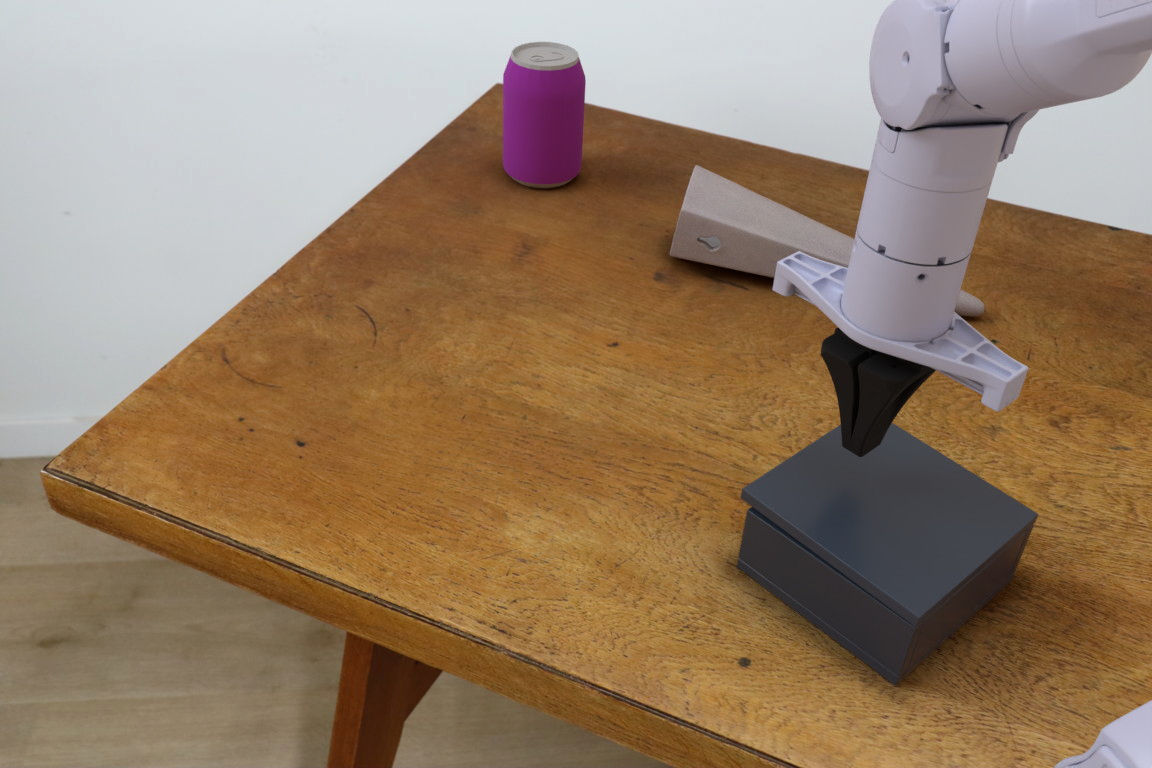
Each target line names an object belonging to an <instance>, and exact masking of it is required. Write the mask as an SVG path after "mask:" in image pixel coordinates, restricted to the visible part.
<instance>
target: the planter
mask: <svg viewBox="0 0 1152 768" xmlns="http://www.w3.org/2000/svg"><path fill="white" fill-rule="evenodd" d="M854 239H855V238H853V237H851V236H849V235H846V234H845V233H843V232H841V231H838V230H836V229H834V228H832V227H829V226H827V225H825V224H823V223H821V222H819V221H817V220H815V219H813V218H811V217H809V216H806V215H805V214H802V213H801V212H797V211H796V210H794V209H791V208H789V207H787V206H785V205H783V204H780V203H779V202H776V201H775V200H772V199H770V198H768V197H766V196H763V195H761V194H759V193H758V192H755V191H752V190H750V189H749V188H747V187H744V186H742V185H741V184H739V183H737V182H735V181H732V180H730V179H728V178H726V177H724V176H721V175H720V174H717V173H715V172H712V171H711V170H708V169H706V168H704V167H703V166H700V165H699V164H698V165H697V164H696V165H695V166H694V168H693V170H692V173H691V175H690V179H689V182H688V185H687V188H686V190H685V195H684V198H683V202H682V205H681V209H680V211H679V215H678V219H677V222H676V226H675V230H674V233H673V238H672V242H671V245H670V246H671V247H670V251H669V256H670V257H673V258H676V259H681V260H682V259H683V260H686V261H691V262H696V263H701V264H705V265H712V266H716V267H721V268H725V269H730V270H734V271H740V272H744V273H749V274H753V275H759V276H764V277H768V278H773V279H774V278H775V272H776V266H777V262H778V261H780V260H782V259H784V258H786V257H788V256H790V255H792V254H794V253H796V252H798V251H800V252H802V253H804V254H807V255H809V256H811V257H814V258H816V259H819V260H822V261H825V262H828V263H832V264H835V265H839V266H843V267H846V268H848V266H849V262H850V257H851V253H852V248H853V243H854ZM985 309H986V307H985V303H984V302H983V301H982V300H981V299H979V298H978V297H976V296H974V295H973V294H971V293H969V292H967V291H965V290H963V289H961V290H960V293H959V296H958V300H957V303H956V307H955V310H954V312H955V313H957V314H958V315H959V316H960V317H973V318H976V317H980V316H982V315H983V314H984V313H985Z"/></svg>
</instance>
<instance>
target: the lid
mask: <svg viewBox="0 0 1152 768" xmlns="http://www.w3.org/2000/svg"><path fill="white" fill-rule="evenodd" d="M740 499H741V500H742V501H744V502H745V503H746V504H747V505H750V507H753V508H755V509H756V510H757V511H759V512H760V513H761V514H763V515H764V516H765V517H767V518H768V519H770V520H771V521H772V522H774V523H775V524H776V525H778V526H779V527H780V528H782V529H783V530H784V531H786V532H787V533H789V534H790V535H791V536H793V537H794V538H795V539H797V540H798V541H799V542H801V543H802V544H803V545H805V546H806V547H808V548H809V549H810V550H812V551H813V552H814V553H816V554H817V555H818V556H820V557H821V558H822V559H824V560H825V561H827V562H828V563H829V564H831V565H832V566H833V567H835V568H836V569H837V570H839V571H840V572H841V573H843V574H844V575H845V576H847V577H848V578H850V579H851V580H852V581H854V582H855V583H856V584H858V585H859V586H860V587H862V588H863V589H864V590H866V591H867V592H869V593H870V594H871V595H873V596H874V597H875V598H877V599H878V600H879V601H881V602H882V603H883V604H885V605H886V606H888V607H889V608H890V609H892V610H893V611H894V612H896V613H897V614H898V615H900V616H901V617H902V618H904V619H905V620H906V621H908V622H909V623H911V624H912V625H913V626H915V627H917V626H918V625H919V624H920V623H921V622H923V621H924V620H925V619H926V618H927V617H928V616H929V615H931V614H932V613H933V612H934V611H935V610H936V609H937V608H939V607H940V606H941V605H942V604H943V603H944V602H945V601H947V600H948V599H949V598H950V597H951V596H952V595H953V594H955V593H956V592H957V591H958V590H959V589H960V588H961V587H963V586H964V585H965V584H966V583H967V582H968V581H969V580H971V579H972V578H973V577H974V576H975V575H976V574H977V573H979V572H980V571H981V570H982V569H983V568H984V567H985V566H987V565H988V564H989V563H990V562H991V561H992V560H993V559H995V558H996V557H997V556H998V555H999V554H1000V553H1001V552H1003V551H1004V550H1005V549H1006V548H1007V547H1008V546H1009V545H1011V544H1012V543H1013V542H1014V541H1015V540H1016V539H1017V538H1019V537H1020V536H1021V535H1022V534H1023V533H1024V532H1025V531H1027V530H1028V529H1029V528H1030V527H1031V526H1032V525H1035V523H1036V522H1037V520H1038V518H1039V515H1040V514H1039V513H1037V511H1034V510H1033V509H1032V508H1030V507H1028V506H1026V505H1025V504H1023V503H1022V502H1020V501H1019V500H1017V499H1015V498H1014V497H1013V496H1011V495H1009V494H1007V493H1006V492H1004V491H1003V490H1001V489H999V488H998V487H996V486H994V485H993V484H992V483H990V482H988V481H987V480H985V479H984V478H982V477H980V476H978V475H977V474H975V473H974V472H972V471H971V470H970V469H969V470H968V469H967V468H965V467H964V466H963V465H961V464H959V463H958V462H957V461H955V460H953V459H952V458H950V457H948V456H947V455H945V454H943V452H941V451H939V450H937V449H935V448H934V447H932V446H931V445H929V444H927V443H925V442H924V441H922V440H921V439H919V438H918V437H916V436H914V435H913V434H911V433H910V432H909V431H906V430H905V429H903V428H902V427H900V426H898V425H897V424H895V423H894V422H892V423H891V425H890V427H889V428H888V430H887V432H886V434H885V436H884V438H883V440H882V442H881V444H880V445H879V446H877V447H876V448H874V449H873V450H872V451H870V452H869V453H867V454H866V455H864V456H863V457H858V456H857V455H855V454H854V453H852V452H850V451H849V450H847V449H845V448H844V447H842V436H841V423H840V424H839V425H837V426H836V427H834V428H833V429H831V430H829V431H828V432H827V433H825V434H824V435H822V436H820V437H819V438H817V439H816V440H814V441H813V442H811V443H810V444H808V445H807V446H805V447H804V448H802V449H800V450H799V451H797V452H796V453H795V454H793V455H791V456H790V457H788V458H787V459H785V460H784V461H782V462H781V463H779V464H778V465H776V466H774V467H773V468H771V470H768V471H767V472H766V473H763V474H762V475H761V476H759V477H758V478H756V479H755V480H753V481H751V482H750V483H749V484H747V485H746V486H744V487H742V490H741V494H740Z"/></svg>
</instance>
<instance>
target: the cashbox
mask: <svg viewBox="0 0 1152 768" xmlns="http://www.w3.org/2000/svg"><path fill="white" fill-rule="evenodd" d="M1034 525H1035V524H1033V525H1032V526H1031V527H1030V528H1029V529H1028V530H1027V531H1025V532H1024V533H1023V534H1022V535H1021V536H1020V537H1019V538H1017V539H1016V540H1015V541H1014V542H1013V543H1012V544H1011V545H1009V546H1008V547H1007V548H1006V549H1005V550H1004V551H1003V552H1001V553H1000V554H999V555H998V556H997V557H996V558H995V559H993V560H992V561H991V562H990V563H989V564H988V565H987V566H985V567H984V568H983V569H982V570H981V571H980V572H979V573H977V574H976V575H975V576H974V577H973V578H972V579H971V580H969V581H968V582H967V583H966V584H965V585H964V586H963V587H961V588H960V589H959V590H958V591H957V592H956V593H955V594H953V595H952V596H951V597H950V598H949V599H948V600H947V601H945V602H944V603H943V604H942V605H941V606H940V607H939V608H937V609H936V610H935V611H934V612H933V613H932V614H931V615H929V616H928V617H927V618H926V619H925V620H924V621H923V622H921V623H920V624H919V625H918V626H917V627H915V626H913V625H912V624H911V623H909V622H908V621H906V620H905V619H904V618H902V617H901V616H900V615H898V614H897V613H896V612H894V611H893V610H892V609H890V608H889V607H888V606H886V605H885V604H883V603H882V602H881V601H879V600H878V599H877V598H875V597H874V596H873V595H871V594H870V593H869V592H867V591H866V590H864V589H863V588H862V587H860V586H859V585H858V584H856V583H855V582H854V581H852V580H851V579H850V578H848V577H847V576H845V575H844V574H843V573H841V572H840V571H839V570H837V569H836V568H835V567H833V566H832V565H831V564H829V563H828V562H827V561H825V560H824V559H822V558H821V557H820V556H818V555H817V554H816V553H814V552H813V551H812V550H810V549H809V548H808V547H806V546H805V545H803V544H802V543H801V542H799V541H798V540H797V539H795V538H794V537H793V536H791V535H790V534H789V533H787V532H786V531H784V530H783V529H782V528H780V527H779V526H778V525H776V524H775V523H774V522H772V521H771V520H770V519H768V518H767V517H765V516H764V515H763V514H761V513H760V512H759V511H757V510H756V509H755V508H753V507H752V506H750V507H749V508H748V509H747V510H746V513H745V519H744V525H743V530H742V534H741V535H742V536H741V540H740V546H739V551H738V557H737V558H738V559H737V564H736V567H737V568H738V569H739V570H740V571H742V572H743V573H744V574H745V575H747V576H748V577H750V578H751V579H752V580H753V581H754V582H756V583H757V584H759V585H760V586H761V587H762V588H764V589H765V590H766V591H768V592H769V593H771V594H772V595H773V596H774V597H776V598H777V599H778V600H780V601H781V602H783V603H784V604H785V605H787V606H788V607H789V608H790V609H792V610H793V611H795V612H796V613H797V614H798V615H800V616H801V617H803V618H804V619H805V620H807V621H808V622H809V623H810V624H812V625H813V626H815V627H816V628H817V629H818V630H820V631H821V632H822V633H824V634H825V635H826V636H828V637H829V638H830V639H832V640H833V641H835V642H836V643H838V644H839V645H840V646H841V647H843V648H844V649H845V650H847V651H848V652H850V653H851V654H852V655H853V656H855V657H856V658H857V659H859V660H860V661H861V662H863V663H864V664H865V665H866V666H868V667H869V668H871V669H872V670H873V671H875V672H876V673H877V674H878V675H880V676H881V677H883V678H884V679H885V680H887V681H888V682H890V683H891V684H892V685H893V686H895V687H897V686H898V685H899V684H900V683H901V682H902V681H904V680H905V679H906V678H907V677H908V676H909V675H911V673H913V671H915V670H916V669H917V668H918V667H919V666H920V665H921V664H922V663H924V661H925V660H927V659H928V658H929V657H930V656H931V655H932V654H934V653H935V652H936V651H937V650H938V649H939V648H940V647H941V646H942V645H943V644H944V643H945V642H947V641H948V640H949V639H951V637H952V636H953V635H954V634H956V632H958V630H960V628H962V627H963V626H964V625H965V624H966V623H968V621H970V620H971V619H972V618H973V617H974V616H975V615H976V614H977V613H978V612H979V611H981V610H982V609H983V608H984V607H985V606H986V605H987V604H988V603H989V602H991V601H992V599H994V598H995V597H996V596H997V595H998V594H999V593H1000V592H1001V591H1002V590H1003V589H1005V588H1006V587H1007V586H1008V585H1009V584H1010V583H1011V582H1012V580H1013V578H1014V576H1015V573H1016V571H1017V568H1018V566H1019V563H1020V561H1021V559H1022V556H1023V554H1024V551H1025V549H1026V546H1027V544H1028V541H1029V539H1030V536H1031V534H1032V531H1033V529H1034Z"/></svg>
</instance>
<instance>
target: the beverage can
mask: <svg viewBox="0 0 1152 768" xmlns="http://www.w3.org/2000/svg"><path fill="white" fill-rule="evenodd" d="M503 71H504V72H503V73H502V74H503V77H502V78H503V79H502V165H503V170H504V171H505V173H506V174H507V175H508V176H509V177H510V178H511V179H512V180H514V181H515V182H517V183H518V184H521V185H523V186H526V187H531V188H534V189H535V188H536V189H550V188H551V189H552V188H558V187H561V186H564V185H566V184H568V183H569V182H571V181H573V180H574V178H575V177H577V176H578V175H579V174H580V172H581V170H582V169H581V168H582V165H583V147H584V146H583V144H584V143H583V141H584V123H585V101H586V84H587V83H586V74H585V72H584V67H583V65H582V62H581V59H580V56H579V52H578V50H576V49H575V48H573V47H571V46H569V45H568V44H564V43H560V42H553V41H531V42H526V43H521V44H519V45H516V46H515V47H514V48H513V49H512V50H511V53H510V56H509V58H508V61H507V64H506V66H505V69H504V70H503Z"/></svg>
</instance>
